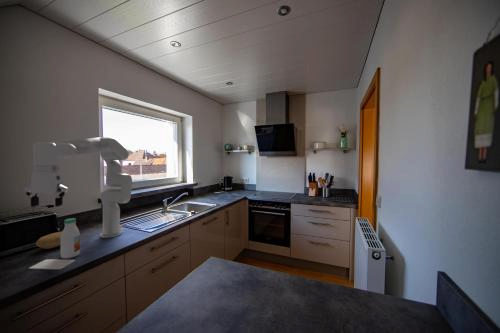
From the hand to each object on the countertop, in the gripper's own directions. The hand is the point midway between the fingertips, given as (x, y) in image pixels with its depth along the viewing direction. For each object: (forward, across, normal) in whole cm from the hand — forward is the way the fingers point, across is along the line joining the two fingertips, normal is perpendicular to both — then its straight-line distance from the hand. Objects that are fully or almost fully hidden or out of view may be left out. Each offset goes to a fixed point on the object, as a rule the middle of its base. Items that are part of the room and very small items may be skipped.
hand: (47, 205), depth 90 cm
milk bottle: (+31, 0, -14) cm, 34 cm away
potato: (+31, +17, -25) cm, 43 cm away
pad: (+31, +2, -5) cm, 31 cm away
